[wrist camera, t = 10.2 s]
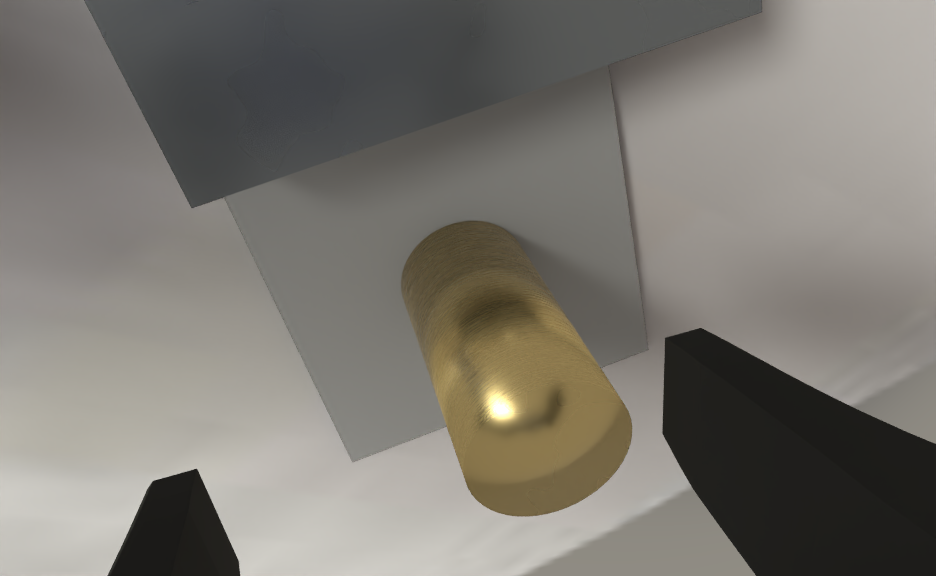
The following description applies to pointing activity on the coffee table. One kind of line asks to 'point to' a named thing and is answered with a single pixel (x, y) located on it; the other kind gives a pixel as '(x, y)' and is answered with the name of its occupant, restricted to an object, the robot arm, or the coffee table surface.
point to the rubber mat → (423, 212)
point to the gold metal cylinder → (511, 373)
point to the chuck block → (356, 69)
